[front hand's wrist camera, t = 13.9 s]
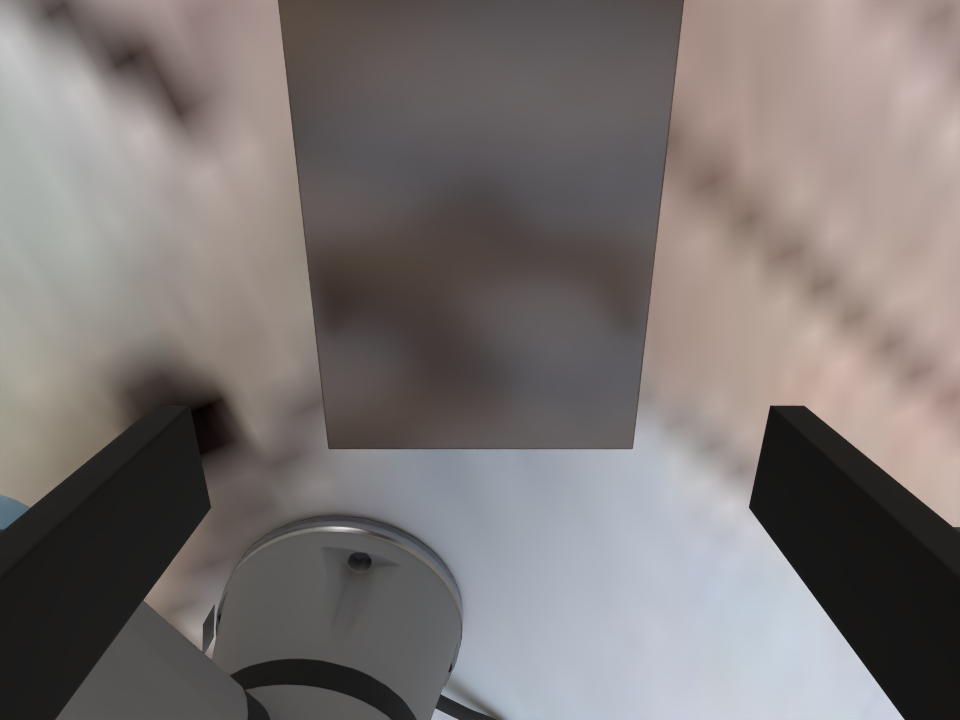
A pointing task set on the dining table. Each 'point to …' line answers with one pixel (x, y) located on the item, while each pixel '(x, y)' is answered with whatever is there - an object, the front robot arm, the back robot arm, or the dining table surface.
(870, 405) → the dining table surface
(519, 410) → the brown-grey rectangular block
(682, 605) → the dining table surface
